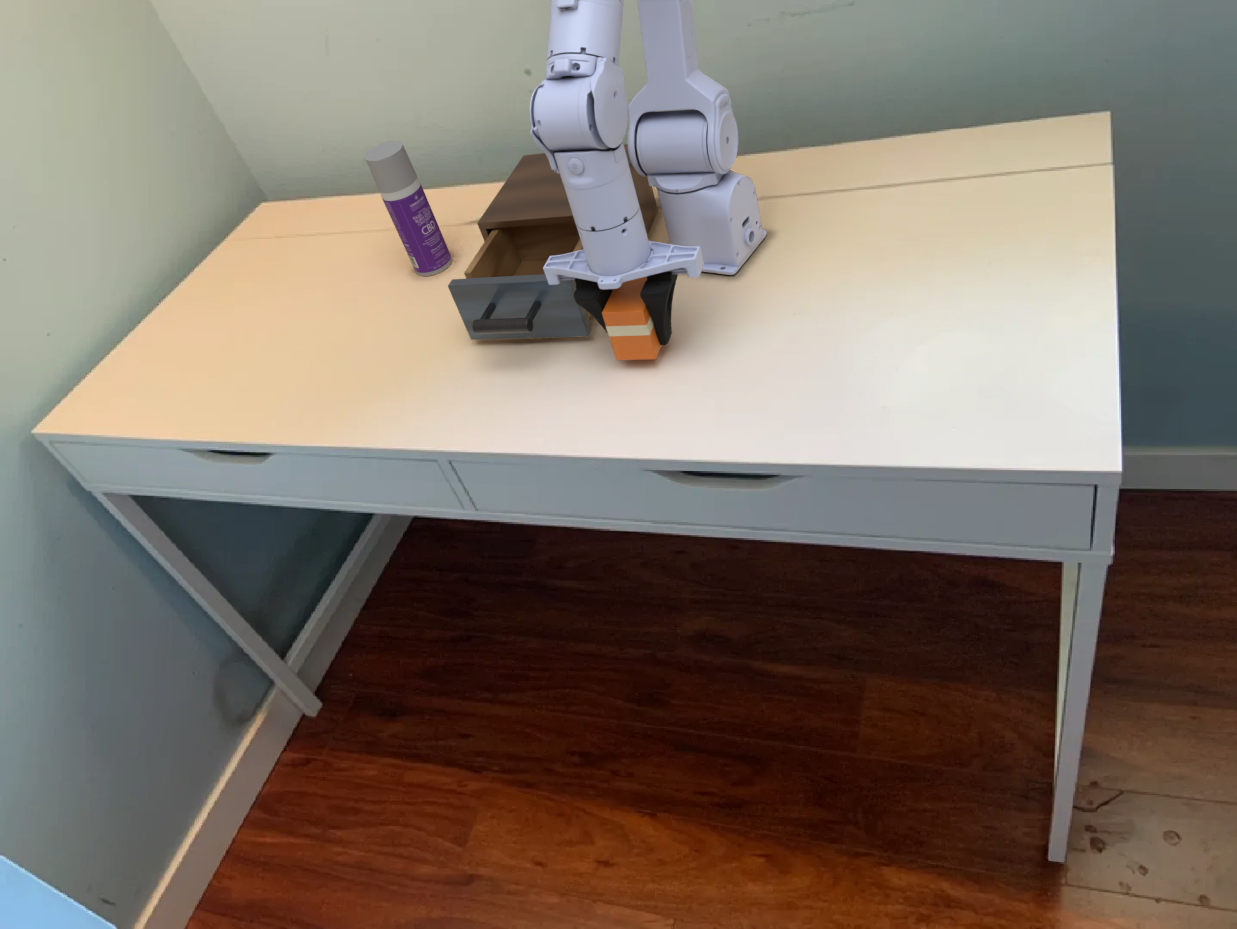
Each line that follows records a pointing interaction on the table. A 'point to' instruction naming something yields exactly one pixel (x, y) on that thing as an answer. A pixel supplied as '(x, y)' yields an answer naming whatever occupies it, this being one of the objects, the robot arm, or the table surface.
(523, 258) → the drawer
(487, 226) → the cabinet
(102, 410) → the table surface
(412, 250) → the container
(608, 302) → the snack box
